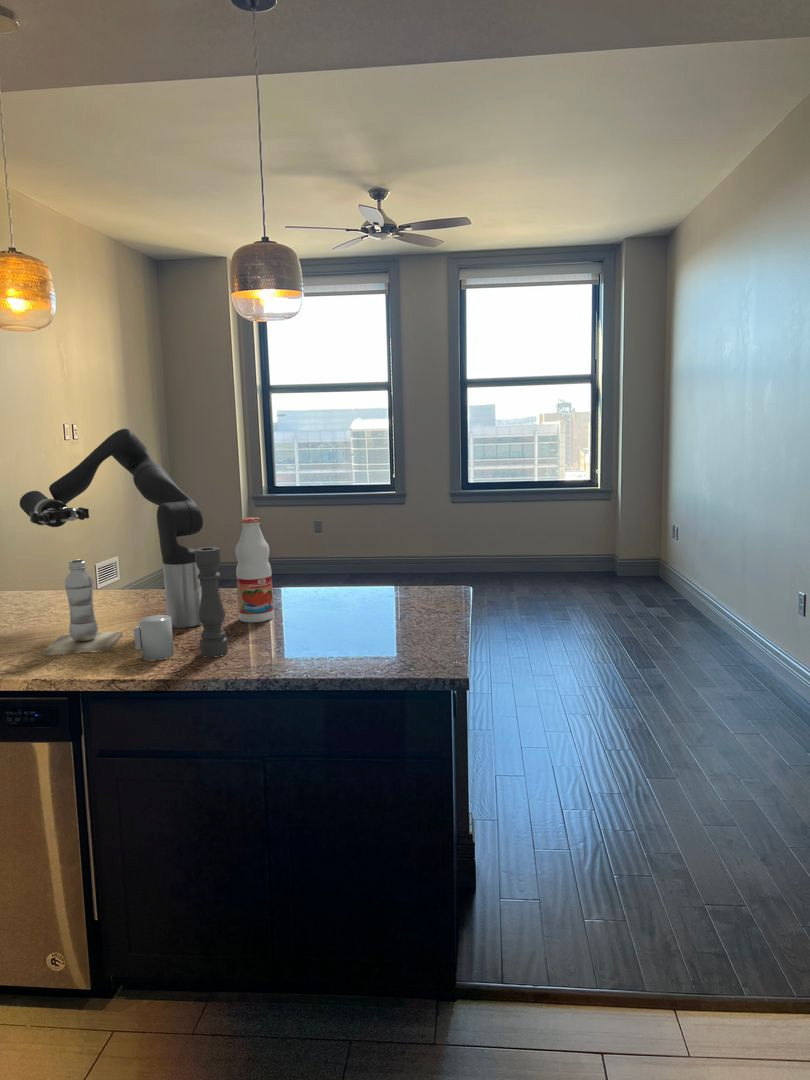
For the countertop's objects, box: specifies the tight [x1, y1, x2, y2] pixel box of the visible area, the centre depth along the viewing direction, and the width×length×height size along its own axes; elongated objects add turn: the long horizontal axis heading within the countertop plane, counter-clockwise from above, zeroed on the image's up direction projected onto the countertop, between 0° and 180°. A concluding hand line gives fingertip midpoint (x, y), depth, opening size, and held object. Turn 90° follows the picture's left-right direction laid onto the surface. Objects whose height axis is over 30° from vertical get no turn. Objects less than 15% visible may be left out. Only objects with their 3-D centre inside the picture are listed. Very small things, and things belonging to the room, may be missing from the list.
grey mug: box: [133, 614, 175, 661], centre depth 175 cm, size 8×7×9 cm
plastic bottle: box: [63, 559, 99, 641], centre depth 185 cm, size 6×7×20 cm
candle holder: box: [194, 546, 229, 658], centre depth 175 cm, size 6×6×25 cm
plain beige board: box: [43, 631, 124, 656], centre depth 186 cm, size 15×13×1 cm
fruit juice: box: [235, 516, 275, 624], centre depth 205 cm, size 9×9×28 cm
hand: (66, 517), depth 199 cm, fingers open, 8 cm apart
